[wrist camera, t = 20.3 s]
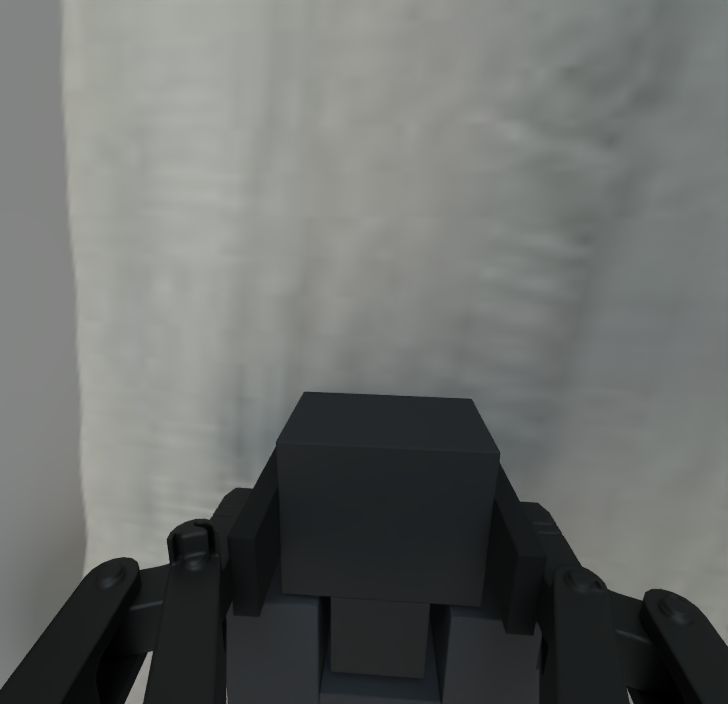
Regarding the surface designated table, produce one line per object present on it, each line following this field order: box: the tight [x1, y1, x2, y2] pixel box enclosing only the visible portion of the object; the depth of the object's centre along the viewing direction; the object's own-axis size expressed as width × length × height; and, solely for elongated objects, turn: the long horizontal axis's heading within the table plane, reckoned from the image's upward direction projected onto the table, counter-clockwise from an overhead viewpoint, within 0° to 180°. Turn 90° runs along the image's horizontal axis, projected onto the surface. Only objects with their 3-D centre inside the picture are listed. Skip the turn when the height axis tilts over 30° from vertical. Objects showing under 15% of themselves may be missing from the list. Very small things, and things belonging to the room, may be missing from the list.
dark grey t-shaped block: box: [276, 392, 500, 679], centre depth 16 cm, size 7×10×4 cm
